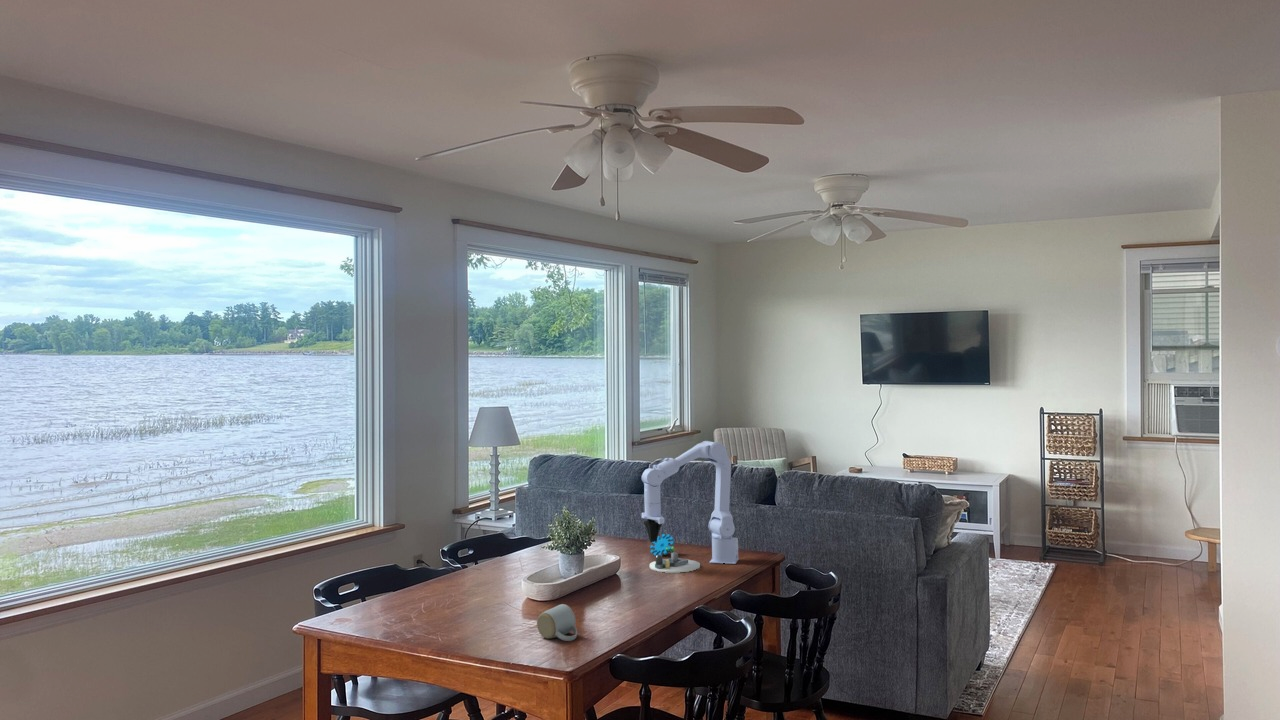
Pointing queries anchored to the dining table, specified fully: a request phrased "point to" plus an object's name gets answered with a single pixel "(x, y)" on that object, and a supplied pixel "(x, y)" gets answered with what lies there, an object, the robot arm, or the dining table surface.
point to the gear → (663, 545)
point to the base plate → (671, 569)
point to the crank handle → (661, 563)
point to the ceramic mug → (557, 623)
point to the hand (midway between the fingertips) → (653, 541)
